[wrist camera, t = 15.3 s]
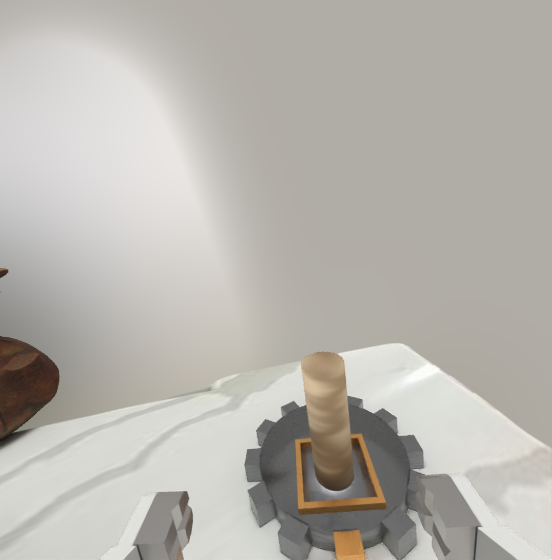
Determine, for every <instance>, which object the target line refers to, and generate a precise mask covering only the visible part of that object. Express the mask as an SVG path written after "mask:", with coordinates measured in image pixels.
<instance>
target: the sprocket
mask: <svg viewBox="0 0 552 560" xmlns="http://www.w3.org/2000/svg"><path fill="white" fill-rule="evenodd" d="M347 399H348V411H349V422H350V433H351V444H352V456H353V467H354V479H353V482H352V484H351V485H350V486H349V487H348V488H346V489H345V490H342V491H331V490H328V489H326V488H324V487H323V486H322V485H320V483H319V482H318V481H317V479H316V476H315V469H314V461H313V453H312V445H311V437H310V429H309V422H308V414H307V406H306V405H305V406H302V407H299V406H298V405H297V404H296V403H295V402H294V401H293V402H291V403H289V404H287V405H284V406H282V407H281V412H282V418H281V419H280V420H278V421H277V422H276V423H275V422H272V421H269V420H266V419H265V420H264V422H263V423H262V424H261V425H260V426H259V428H258V429H257V430H256V432H257V438H258V443H259V445H260V446H262V448H258V449H247V455H246V461H245V470H246V475H247V480H248V482H253V481H262V482H261V483H259V484H257V485H256V486H254V487H253V488H251V489H249V490H248V493H249V499H250V504H251V508H252V510H253V513H254V515H255V517H256V520H257V522H258V524H259V526H260V527H262V526H263V525H264V524H266V523H267V522H269V521H270V520H272V519H273V518H275V517H276V518H277V519H278V521H279V522H280V523H281V524H282V526H281V528H280V530H279V532H278V537H279V543H280V549H281V553H282V554H284V555H285V556H287V557H289V558H290V559H292V560H306V559H307V556H308V554H309V551H310V549H311V546H315V547H318V548H321V549H324V550H330V551H335V552H336V558H337V560H365V553H364V549H366V548H369V547H372V546H374V545H376V544H378V543H380V542H382V541H383V543H384V544H385V545H386V546H387V547H388V549H389V550H390V551H391V552H392V553H393V555H394V556H395V557H396V558H397V559H398V560H401V559H402V558H403V557H404V556H405V555H406V554H407V553H408V552H409V551H410V550H411V549H412V548H413V547H414V546H415V545H416V524H415V523H414V522H413V521H412V520H411V519H410V518H409V517H408V516H407V515H406V512H407V510H408V508H410V509H413V510H415V511H417V507H416V502H415V494H416V493H417V492H418V489H417V487H416V485H415V479H416V477H417V476H423V475H424V474H421V473H419V472H416V471H413V470H410V469H418V468H423V450H422V448H421V447H420V445H419V443H418V442H417V440H416V438H415V436H414V435H408V436H398V435H397V418H396V417H395V416H394V415H392V414H391V413H389V412H388V411H386V410H385V409H383V408H382V409H381V410H379V411H377V412H376V413H374V414H373V413H371V412H369V411H367V410H365V409H363V400H362V399H359V398H354V397H350V396H347Z"/></svg>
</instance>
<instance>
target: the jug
mask: <svg viewBox="0 0 552 560" xmlns="http://www.w3.org/2000/svg"><path fill="white" fill-rule="evenodd" d="M7 273H8V270H7V269H5V268H0V278H1V277H3V276H4V275H6V274H7ZM58 385H59V370H58V368H57V366H56V365H55V363H54V362H53V361H52V360H51V359H49V358H48V356H47V355H45V354H44V353H42V352H41V351H39V350H38V349H36V348H34V347H33V346H31V345H29V344H27V343H25V342H22V341H19V340H17V339H13V338H9V337H1V336H0V440H1V439H2V438H4V437H6V436H8V435H9V434H11V433H12V432H14V431H15V430H17V429H18V428H19V427H21V426H22V425H23V424H24V423H26V422H27V421H28V420H29V419H31V417H33V416H34V415H35V414H36V413H37V412H38V411H39V410H40V409H41V408H43V407H44V406H45V405H46V404H47V403H48V402H50V401H51V399H52V398H53V397H54V396H55V394H56V392H57V389H58Z"/></svg>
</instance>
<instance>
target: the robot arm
mask: <svg viewBox="0 0 552 560" xmlns="http://www.w3.org/2000/svg"><path fill="white" fill-rule="evenodd" d="M415 485H416V487H417V489H418V492H417V493H416V494H415V502H416V507H417V512H418V515H419V518H420V521H421V523H422V525H423V528H424V530H425V531H426V532H427V533H428V534H430V535H431V536H432V548H433V550H434V552H435V554H436V556H437V558H438V560H552V559H551V558H550V557H549V556H547V555H546V554H544V553H543V552H542V551H540V550H539V549H538V548H536V547H535V546H533V545H532V544H531V543H529V542H528V541H526V540H525V539H524V538H522V537H521V536H520V535H518V534H517V533H515V532H514V531H513V530H511V529H510V528H509V527H507V526H501V525H500V523H499V522H498V521H497V519H496V518H495V516H494V515H493V514H492V512H491V511H490V509H489V508H488V507H487V505H486V504H485V502H484V501H483V500H482V498H481V497H480V495H479V494H478V493H477V491H476V490H475V488H474V487H473V486H472V484H471V483H470V481H469V480H468V479H467V477H466V476H465V475H464V474H462V473H454V474H435V475H423V476H417V477H416V479H415ZM188 500H189V496H188V493H187V491H182V492H153V493H145V494H144V495H143V496H142V497H141V498H140V500H139V502H138V504H137V506H136V508H135V510H134V512H133V514H132V516H131V518H130V520H129V522H128V524H127V526H126V528H125V530H124V532H123V534H122V536H121V538H120V540H119V542H118V543H117V545H116V547H111V548H110V549H109V550H108V551H107V552H106V553H105V554H104V555H103V556H102V557H101V558H100V559H99V560H184V558H183V554H182V550H183V549H184V548H185V546H186V545H187V544H188V543H189V539H190V535H191V531H192V524H193V513H192V509H191V507H189V506H188V505H187V503H188Z"/></svg>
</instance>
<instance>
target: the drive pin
mask: <svg viewBox="0 0 552 560" xmlns="http://www.w3.org/2000/svg"><path fill="white" fill-rule="evenodd" d="M301 366H302V374H303V382H304V390H305V398H306V406H307V414H308V422H309V429H310V437H311V445H312V453H313V461H314V469H315V476H316V479H317V481H318V482H319V483H320V485H322V486H323V487H324V488H326V489H328V490H331V491H342V490H345V489H346V488H348V487H349V486H350V485H351V484H352V482H353V479H354V467H353V456H352V444H351V433H350V422H349V411H348V399H347V388H346V377H345V365H344V360H343V358H342V357H341V356H339V355H337V354H335V353H330V352H317V353H313V354H310V355H308V356H306V357H305V358H304V359H303V360H302V362H301Z"/></svg>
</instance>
